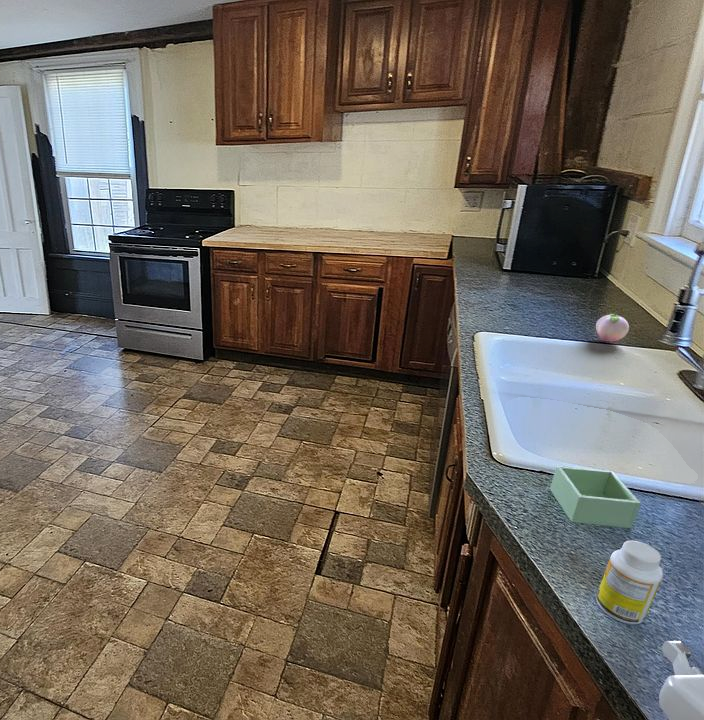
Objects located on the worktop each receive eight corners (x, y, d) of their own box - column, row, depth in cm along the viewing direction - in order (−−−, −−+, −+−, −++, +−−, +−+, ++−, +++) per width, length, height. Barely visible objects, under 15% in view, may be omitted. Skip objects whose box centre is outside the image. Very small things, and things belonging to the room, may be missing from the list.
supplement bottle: (619, 591, 75) (642, 533, 71) (655, 623, 70) (681, 563, 66) (584, 595, 74) (605, 538, 70) (618, 629, 69) (642, 568, 65)
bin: (604, 494, 95) (612, 470, 93) (631, 528, 87) (641, 503, 85) (549, 489, 97) (556, 465, 95) (571, 522, 88) (579, 497, 86)
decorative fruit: (627, 349, 163) (637, 318, 160) (596, 345, 166) (605, 315, 162) (618, 339, 172) (628, 310, 168) (589, 336, 174) (598, 307, 170)
